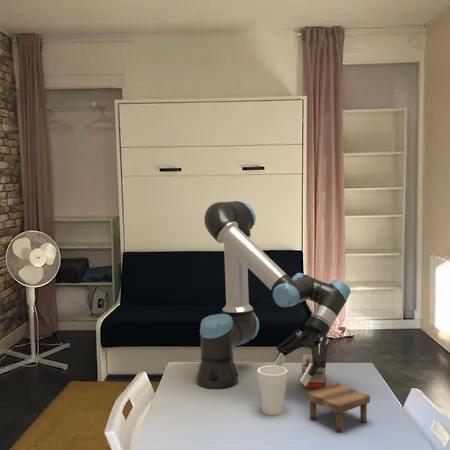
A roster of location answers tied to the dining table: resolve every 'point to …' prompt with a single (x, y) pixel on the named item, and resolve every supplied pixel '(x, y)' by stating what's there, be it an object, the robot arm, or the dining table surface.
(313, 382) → the medicine box
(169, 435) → the dining table surface
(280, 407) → the foam cup
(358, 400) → the stool
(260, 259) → the robot arm
